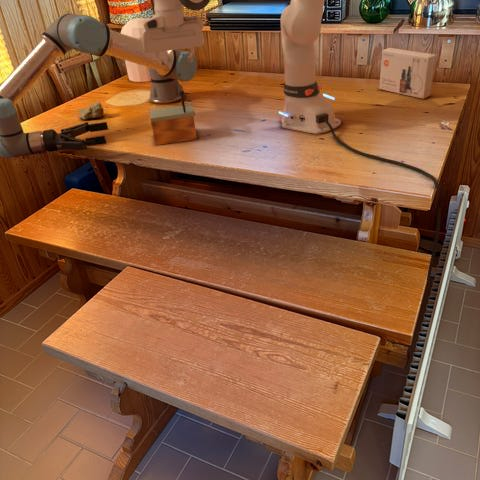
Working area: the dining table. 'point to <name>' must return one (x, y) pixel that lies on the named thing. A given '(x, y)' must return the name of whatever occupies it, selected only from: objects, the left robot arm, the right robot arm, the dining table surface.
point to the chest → (174, 130)
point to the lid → (173, 110)
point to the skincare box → (407, 72)
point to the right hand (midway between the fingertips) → (176, 63)
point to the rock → (92, 112)
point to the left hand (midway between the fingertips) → (106, 132)
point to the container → (134, 70)
